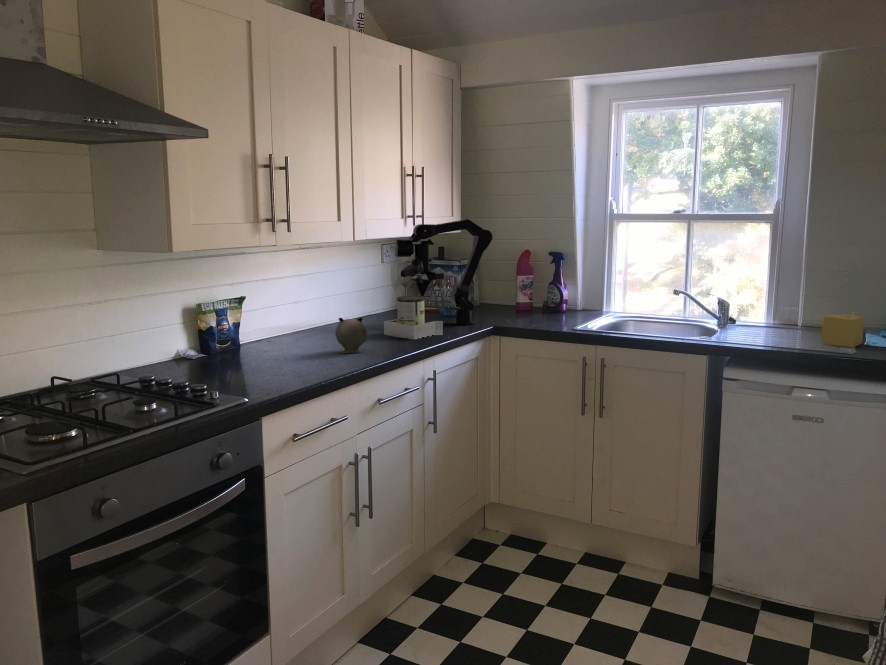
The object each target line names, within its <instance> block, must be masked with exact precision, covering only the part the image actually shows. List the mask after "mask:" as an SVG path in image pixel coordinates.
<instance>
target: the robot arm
mask: <svg viewBox="0 0 886 665" xmlns="http://www.w3.org/2000/svg"><path fill="white" fill-rule="evenodd" d="M463 230H465V231H466V232H468V234H470V235H472V237H473V239H472V250H471V252H470V255H469V258H468V261H467V262H466V265H465V268H464V271H463V273H462V275H461V278H460V281H459V282H458V284H457V285H456V284H453V286H452V290H451V291H450V293H449V295H450V300H451V302H452V304H454V306H455V308H456V309H455V310H456V311H455V322H453V323H452V324H453V325H459V326H469V325H470V326H471V325H475V324H476V322H474V321H473V310H474V306H475V305H474V304H473V303H472V301H470V300H469V298H470V293H471V292H470V291H471V284H472V282H473V279H474V277H475V275H476V271H477V270H478V267H479V263H480V261H481V259H482V256H483V254H484V253H485V251H486V250H487V249H488V247H489V246H490V245H491V243H492V241H493V237H494V236H493V234H492V231H490V230H489V229H484V228H483V227H481V226H479V225H478V224H476V223H475V222H473V220H471V219H470V218H469V219H468V218H464V219H461V220H460V219H459V220H455V221H449V222H448V221H447V222H443V223H438V224H435V223H434V224H433V223H431V224H430V223H429V224H428V223H427V224H426V223H425V224H424V223H423V224H422V223H420V224H419V223H418V224H416V225H415V226H414V228H413V230H412V234H411V236H410V237H409V238H408V239H396V240H395V241H396V242H395V247H394V253H395V254H394V255H395V257H396V258H410V257H412V255H414V258H413V259H412V260H411V263H410V264H408V265H406V266H405V267H403V269H401V271H400V277H401V278H407V277H411V278H410V280H411V281H413V282H414V283H415V285H416V287H417V290H418V292H419V296H423V297H425V295H426V292H427V290H428V287H429V285H431V284H430V283H431V282H432V281H433V280H434V281H435V280H444V279H445V274H444V273H445V272H443V271H440V270H439V271H437V270H434V271H432V269H431V268H430V262H431V263H432V258H430V246H434V245H435V243H434V242H433V241H432V239H431V238H432V237H433V238H434V236H437V235H439V234H445V233H450V232H451V233H452V232H457V231H463Z"/></svg>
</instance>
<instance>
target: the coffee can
mask: <svg viewBox="0 0 886 665" xmlns="http://www.w3.org/2000/svg"><path fill="white" fill-rule="evenodd" d="M396 303H397V304H396V305H397V307H396V308H397V319H398V321H403V324H409V325H417V324H422V323H426V321H425V296H420V295H402V296H397V297H396Z"/></svg>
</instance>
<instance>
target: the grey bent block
mask: <svg viewBox="0 0 886 665" xmlns="http://www.w3.org/2000/svg"><path fill="white" fill-rule="evenodd" d="M443 326H444V322H443V320H437V321H430V322H429V321H427V322H425V323H422V324H417V325H409V324H403V321H398V318H396V319H390V320H385V321H384V320H383V335H384V336H388V337H389V336H390V337H396V338H401V339H402V338H403V339H407V338H408V339H407V340H413V339H414V340H419V339H422V337H424V338H427V336H429V337H433V336H432V335H434V336H443V334H444V333H443V331H444V329H443V328H444V327H443ZM418 338H419V339H418Z"/></svg>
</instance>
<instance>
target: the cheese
mask: <svg viewBox="0 0 886 665" xmlns="http://www.w3.org/2000/svg"><path fill="white" fill-rule="evenodd" d="M864 327H865V316H864V315H856V314H847V313H846V314H826V315H824V316H823V320H822V324H821V341H822V342H821V344H822V345H826V346H836V347H844V348H852V349H853V348H855V347H857V346H859V345H862V344H863V337H864Z"/></svg>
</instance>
